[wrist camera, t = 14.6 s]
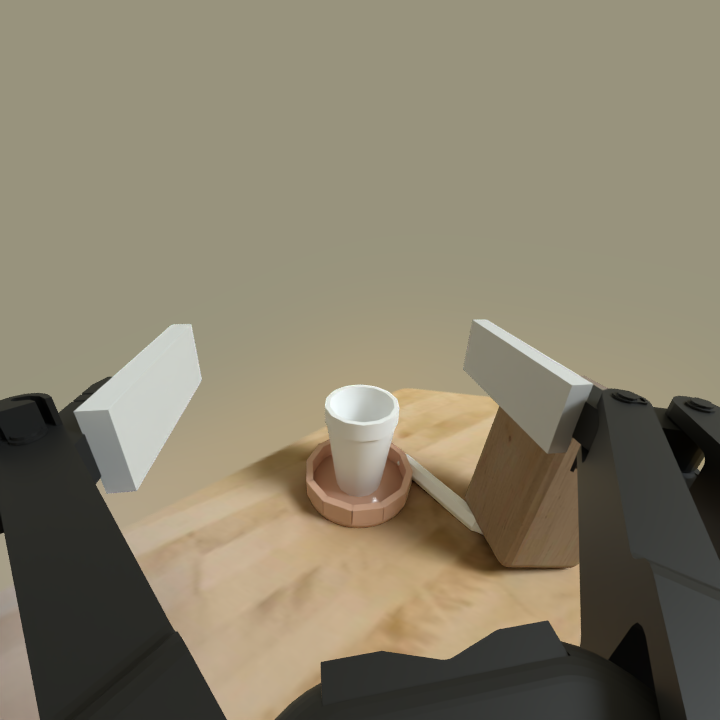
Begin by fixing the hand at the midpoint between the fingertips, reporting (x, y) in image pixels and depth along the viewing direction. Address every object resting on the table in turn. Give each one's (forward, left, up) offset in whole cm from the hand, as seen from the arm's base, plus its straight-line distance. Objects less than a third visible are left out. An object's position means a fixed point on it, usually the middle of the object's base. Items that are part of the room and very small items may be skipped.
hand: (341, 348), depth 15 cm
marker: (+16, +16, -30) cm, 38 cm away
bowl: (+5, +20, -30) cm, 37 cm away
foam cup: (+5, +20, -29) cm, 36 cm away
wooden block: (+23, +9, -29) cm, 38 cm away
